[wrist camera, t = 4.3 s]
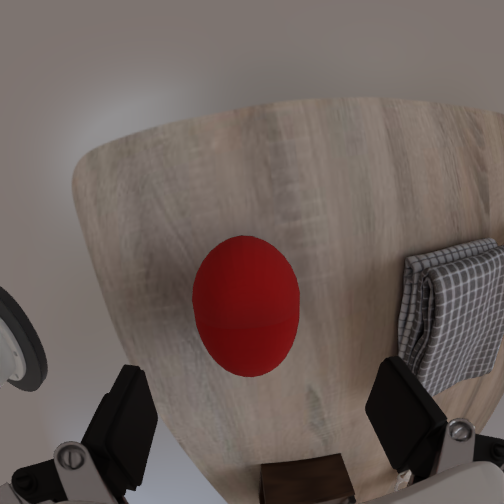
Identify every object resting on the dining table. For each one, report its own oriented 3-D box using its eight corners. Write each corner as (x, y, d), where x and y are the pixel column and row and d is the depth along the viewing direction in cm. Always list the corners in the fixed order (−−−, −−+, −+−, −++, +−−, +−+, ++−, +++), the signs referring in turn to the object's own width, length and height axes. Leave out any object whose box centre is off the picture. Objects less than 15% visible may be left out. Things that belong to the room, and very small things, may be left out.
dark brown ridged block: (258, 493, 36) (263, 535, 25) (261, 463, 32) (267, 518, 22) (323, 484, 36) (334, 524, 26) (340, 453, 33) (358, 501, 23)
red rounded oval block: (197, 222, 22) (169, 255, 12) (281, 216, 22) (316, 244, 13) (209, 322, 25) (198, 398, 15) (284, 316, 25) (309, 388, 15)
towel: (482, 230, 24) (527, 246, 17) (464, 348, 29) (493, 375, 21) (394, 254, 24) (444, 281, 16) (384, 386, 29) (410, 426, 21)
